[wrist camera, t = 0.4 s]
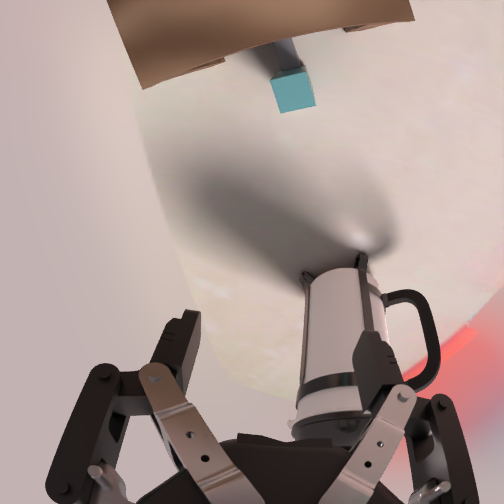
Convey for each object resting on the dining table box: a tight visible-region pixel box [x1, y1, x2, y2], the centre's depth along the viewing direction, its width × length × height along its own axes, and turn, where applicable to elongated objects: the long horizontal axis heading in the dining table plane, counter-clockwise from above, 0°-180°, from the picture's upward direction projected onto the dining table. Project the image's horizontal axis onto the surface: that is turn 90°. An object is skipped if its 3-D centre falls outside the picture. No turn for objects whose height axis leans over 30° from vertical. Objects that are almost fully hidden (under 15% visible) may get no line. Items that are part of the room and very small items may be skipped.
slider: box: [270, 38, 316, 113], centre depth 21 cm, size 20×12×10 cm, turn 18°
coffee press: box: [287, 253, 441, 451], centre depth 35 cm, size 17×16×30 cm
